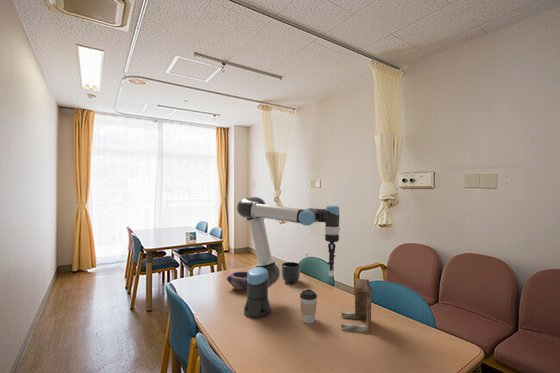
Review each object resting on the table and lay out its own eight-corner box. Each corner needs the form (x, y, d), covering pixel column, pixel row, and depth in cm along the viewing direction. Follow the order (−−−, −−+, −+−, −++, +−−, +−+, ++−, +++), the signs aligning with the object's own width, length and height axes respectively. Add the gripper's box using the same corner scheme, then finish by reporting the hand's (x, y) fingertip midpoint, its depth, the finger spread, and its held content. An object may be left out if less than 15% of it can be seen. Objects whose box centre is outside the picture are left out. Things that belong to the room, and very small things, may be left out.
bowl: (261, 286, 196) (261, 272, 196) (244, 295, 181) (244, 279, 181) (241, 282, 206) (241, 268, 206) (224, 289, 191) (224, 275, 191)
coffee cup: (316, 325, 142) (316, 295, 142) (298, 323, 144) (298, 294, 144) (317, 317, 151) (317, 289, 151) (300, 315, 152) (301, 287, 152)
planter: (300, 285, 199) (300, 267, 199) (281, 285, 199) (281, 267, 199) (299, 278, 213) (299, 262, 213) (281, 278, 213) (281, 261, 213)
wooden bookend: (341, 329, 137) (341, 286, 137) (341, 316, 151) (341, 277, 151) (371, 333, 134) (371, 289, 134) (368, 319, 148) (368, 279, 148)
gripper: (339, 238, 141) (338, 280, 141) (338, 230, 166) (337, 266, 166) (324, 237, 142) (323, 278, 143) (325, 229, 167) (325, 265, 167)
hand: (331, 272), depth 154 cm, fingers open, 13 cm apart
